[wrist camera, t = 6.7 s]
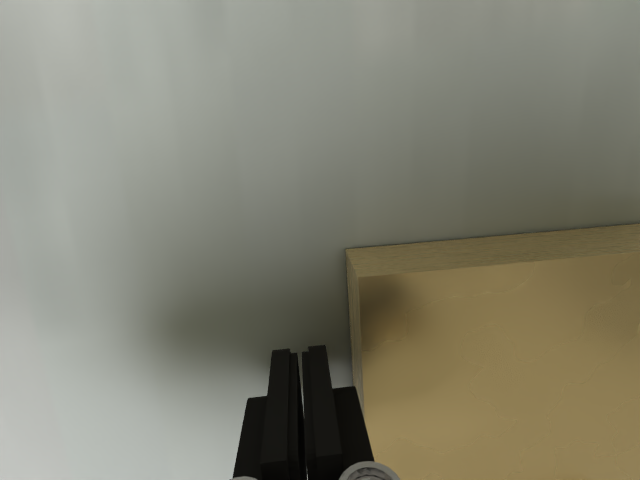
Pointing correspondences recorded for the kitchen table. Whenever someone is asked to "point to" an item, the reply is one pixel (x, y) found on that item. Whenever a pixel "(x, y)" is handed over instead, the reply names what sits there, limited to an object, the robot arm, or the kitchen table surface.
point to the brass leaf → (501, 355)
